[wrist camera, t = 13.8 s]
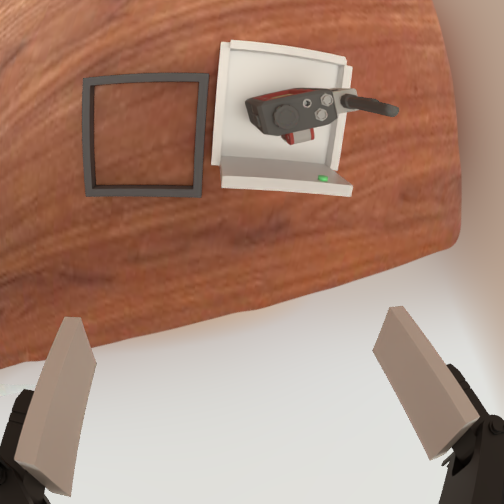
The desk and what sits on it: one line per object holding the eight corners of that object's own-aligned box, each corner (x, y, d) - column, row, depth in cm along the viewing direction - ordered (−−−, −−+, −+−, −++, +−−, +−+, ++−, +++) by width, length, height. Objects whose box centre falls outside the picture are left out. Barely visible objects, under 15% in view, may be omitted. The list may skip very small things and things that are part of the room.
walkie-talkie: (313, 83, 34) (406, 87, 16) (321, 118, 36) (414, 153, 18) (240, 99, 34) (271, 110, 16) (250, 134, 36) (288, 183, 19)
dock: (211, 163, 38) (210, 187, 29) (220, 43, 31) (223, 27, 22) (328, 171, 40) (359, 197, 32) (343, 60, 33) (382, 55, 24)
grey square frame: (89, 192, 38) (85, 196, 36) (87, 78, 31) (83, 78, 29) (201, 193, 40) (201, 197, 39) (209, 74, 33) (209, 73, 31)
